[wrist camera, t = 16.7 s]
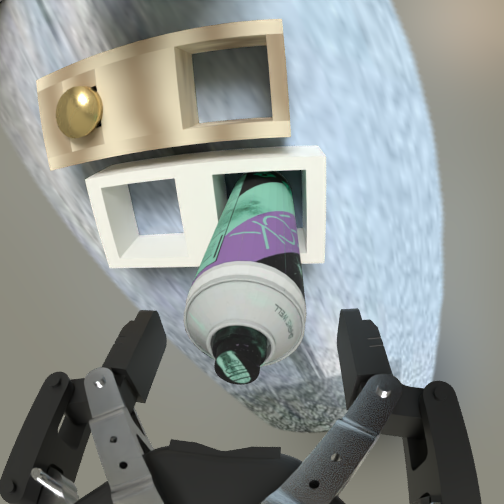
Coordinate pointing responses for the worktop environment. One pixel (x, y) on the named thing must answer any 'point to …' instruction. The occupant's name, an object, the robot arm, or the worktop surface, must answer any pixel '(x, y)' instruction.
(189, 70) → the socket block
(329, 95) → the worktop surface
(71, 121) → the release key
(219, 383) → the worktop surface
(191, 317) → the spray can
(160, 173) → the frame
